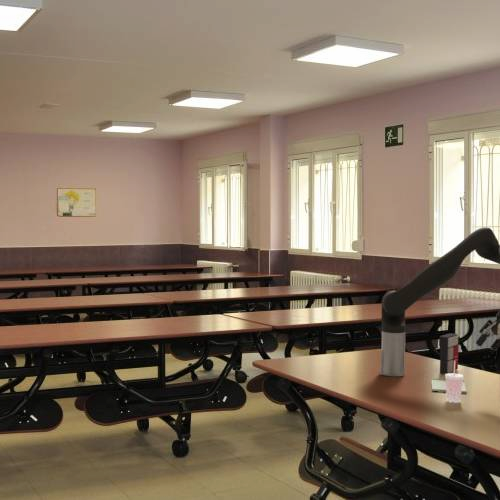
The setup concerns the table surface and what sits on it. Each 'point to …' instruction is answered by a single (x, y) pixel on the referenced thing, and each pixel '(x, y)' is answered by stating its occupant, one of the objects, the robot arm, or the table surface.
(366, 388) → the table surface
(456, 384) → the beverage cup
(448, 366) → the grey and red box
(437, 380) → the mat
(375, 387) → the table surface
